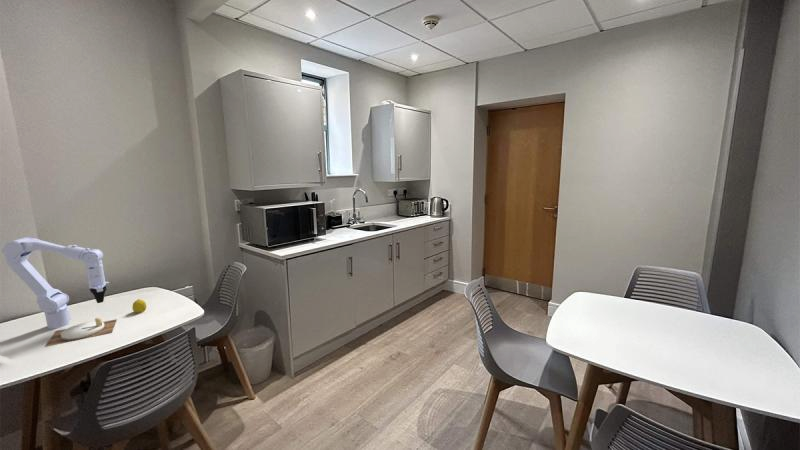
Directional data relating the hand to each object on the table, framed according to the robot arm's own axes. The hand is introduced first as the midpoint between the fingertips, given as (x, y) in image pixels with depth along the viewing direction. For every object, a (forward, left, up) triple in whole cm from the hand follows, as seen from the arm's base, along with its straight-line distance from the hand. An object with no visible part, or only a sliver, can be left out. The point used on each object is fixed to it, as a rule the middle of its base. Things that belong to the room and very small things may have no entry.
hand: (100, 302), depth 156 cm
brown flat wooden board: (+11, -5, -10) cm, 16 cm away
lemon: (-2, +14, -11) cm, 18 cm away
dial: (+11, -5, -9) cm, 15 cm away
